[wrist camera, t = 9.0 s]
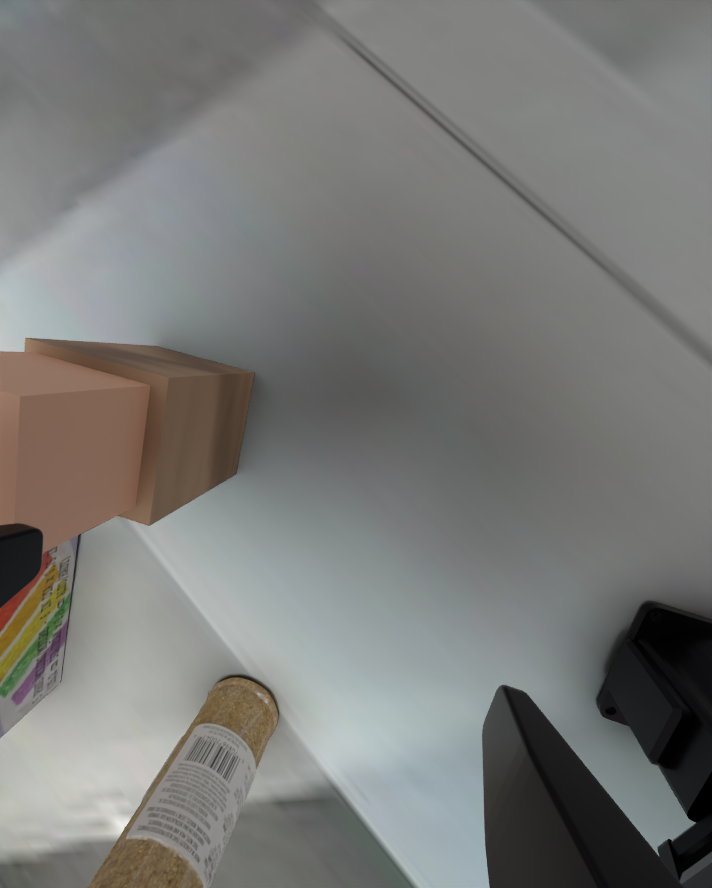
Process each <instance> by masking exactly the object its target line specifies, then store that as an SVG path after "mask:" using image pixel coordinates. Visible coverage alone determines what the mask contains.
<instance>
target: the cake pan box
mask: <svg viewBox="0 0 712 888" xmlns="http://www.w3.org/2000/svg"><path fill="white" fill-rule="evenodd" d="M77 542H78V536H76V537H74V538H72V539H70V540H68V541H66V542H64V543H62V544H60V545H58V546H56V547H54V548H52V549H50V550H48V551H46V552H44V553H43V555H42V567H41V570H40V572H39V574H38V575H37V576H36V578H35V579H34V580H33V581H32V582H30V583H29V584H28V585H27V586H26V587H25V588H24V589H22V590H21V591H20V592H19V593H18V594H17V595H15V596H14V597H13V598H12V599H11V600H10V601H9V602H7V603H6V604H5V605H4V606H3V607H2V608H1V609H0V738H1V737H2V736H3V735H4V734H5V733H7V732H8V731H9V730H10V729H11V728H12V727H13V726H14V725H15V724H16V723H17V722H18V721H20V720H21V719H22V718H23V717H24V716H25V715H26V714H27V713H28V712H29V711H30V710H31V709H32V708H33V707H35V706H36V705H37V704H38V703H39V702H40V701H41V700H42V699H43V698H45V697H46V696H47V695H48V694H49V693H50V692H51V691H52V690H53V689H54V688H55V687H56V686H57V685H58V684H59V683H60V681H61V675H62V665H63V657H64V649H65V641H66V632H67V623H68V615H69V607H70V599H71V591H72V582H73V574H74V567H75V558H76V550H77Z"/></svg>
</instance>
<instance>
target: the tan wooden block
mask: <svg viewBox="0 0 712 888" xmlns="http://www.w3.org/2000/svg"><path fill="white" fill-rule="evenodd" d="M25 352H34V353H38V354H41V355H45V356H48V357H52V358H56V359H59V360H63V361H66V362H70V363H73V364H77V365H80V366H84V367H87V368H91V369H94V370H98V371H102V372H105V373H109V374H112V375H116V376H119V377H123V378H126V379H130V380H133V381H137V382H140V383H144V384H147V385H151V386H150V394H149V402H148V410H147V418H146V426H145V434H144V442H143V450H142V458H141V466H140V475H139V483H138V491H137V499H136V507H134V508H132V509H130V510H128V511H126V512H124V513H122V514H120V515H118V516H120V517H124V518H127V519H130V520H133V521H136V522H139V523H142V524H145V525H148V526H150V525H151V524H153V523H155V522H157V521H158V520H160V519H162V518H163V517H165V516H167V515H168V514H170V513H172V512H173V511H175V510H177V509H178V508H180V507H182V506H183V505H185V504H187V503H189V502H190V501H192V500H194V499H195V498H197V497H199V496H200V495H202V494H204V493H205V492H207V491H209V490H210V489H212V488H214V487H215V486H217V485H219V484H221V483H222V482H224V481H226V480H227V479H229V478H231V477H232V476H234V475H236V473H237V467H238V462H239V456H240V451H241V445H242V440H243V434H244V429H245V424H246V418H247V413H248V407H249V402H250V396H251V391H252V385H253V380H254V375H255V373H254V372H250V371H246V370H243V369H239V368H235V367H232V366H228V365H224V364H220V363H217V362H213V361H209V360H206V359H202V358H198V357H194V356H191V355H187V354H183V353H180V352H176V351H172V350H168V349H165V348H161V347H157V346H147V345H131V344H115V343H99V342H83V341H67V340H51V339H35V338H25Z"/></svg>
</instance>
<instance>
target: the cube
mask: <svg viewBox="0 0 712 888" xmlns="http://www.w3.org/2000/svg"><path fill="white" fill-rule="evenodd" d="M150 386H151V385H147V384H144V383H140V382H137V381H133V380H130V379H126V378H123V377H119V376H116V375H112V374H109V373H105V372H102V371H98V370H94V369H91V368H87V367H84V366H80V365H77V364H73V363H70V362H66V361H63V360H59V359H56V358H52V357H48V356H45V355H41V354H38V353H34V352H0V525H6V524H15V523H22V524H26V525H29V526H32V527H35V528H38V529H40V530H41V531H42V533H43V536H44V539H43V553H44V552H46V551H48V550H50V549H52V548H54V547H56V546H58V545H60V544H62V543H64V542H66V541H68V540H70V539H72V538H74V537H76V536H78V535H80V534H82V533H84V532H86V531H88V530H90V529H92V528H94V527H96V526H98V525H100V524H102V523H104V522H106V521H108V520H110V519H112V518H114V517H116V516H118V515H120V514H122V513H124V512H126V511H128V510H130V509H132V508H134V507H136V499H137V491H138V483H139V475H140V466H141V458H142V450H143V442H144V434H145V426H146V418H147V410H148V402H149V394H150Z"/></svg>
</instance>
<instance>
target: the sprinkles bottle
mask: <svg viewBox="0 0 712 888" xmlns="http://www.w3.org/2000/svg"><path fill="white" fill-rule="evenodd" d="M277 720H278V713H277V708H276V706H275V703H274V701H273V699H272V698H271V696H270V694H269V693H268V692H267V691H266V690H265V689H264V688H263V687H261V686H260V685H258V684H256V683H255V682H252V681H250V680H247V679H243V678H229V679H226V680H222V681H220V682H218V683H217V684H216V685H215V686H214V687H213V688H212V690H211V691H210V692H209V694H208V697H207V700H206V702H205V704H204V706H203V707H202V708H201V710H200V712H199V714H198V715H197V717H196V718H195V720H194V721H193V723H192V724H191V726H190V727H189V729H188V730H187V732H186V734H185V735H184V736H183V737H182V738H181V739H180V740H179V742H178V744H177V745H176V747H175V748H174V750H173V751H172V753H171V754H170V756H169V757H168V759H167V761H166V762H165V764H164V765H163V767H162V768H161V770H160V772H159V773H158V775H157V776H156V778H155V779H154V781H153V782H152V784H151V786H150V787H149V789H148V790H147V792H146V793H145V795H144V797H143V799H142V802H141V804H140V806H139V807H138V809H137V810H136V812H135V814H134V815H133V816H132V818H131V819H130V821H129V823H128V824H127V826H126V827H125V829H124V831H123V832H122V834H121V836H120V837H119V839H118V840H117V842H116V844H115V846H114V847H113V848H112V850H111V852H110V854H109V855H108V856H107V858H106V859H105V861H104V863H103V865H102V866H101V867H100V869H99V870H98V872H97V873H96V875H95V877H94V879H93V881H92V883H91V884H90V885H89V887H88V888H210V886H211V883H212V881H213V878H214V876H215V873H216V871H217V868H218V866H219V863H220V861H221V858H222V856H223V853H224V851H225V848H226V846H227V844H228V841H229V839H230V836H231V834H232V831H233V829H234V826H235V824H236V821H237V819H238V817H239V814H240V812H241V809H242V807H243V804H244V802H245V799H246V797H247V795H248V792H249V790H250V787H251V785H252V782H253V780H254V777H255V772H256V769H257V766H258V764H259V762H260V759H261V757H262V754H263V752H264V749H265V747H266V745H267V742H268V739H269V737H270V736H271V735H272V734H273V732H274V730H275V728H276V725H277Z"/></svg>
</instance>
